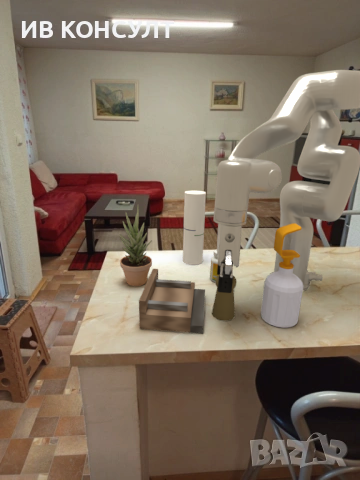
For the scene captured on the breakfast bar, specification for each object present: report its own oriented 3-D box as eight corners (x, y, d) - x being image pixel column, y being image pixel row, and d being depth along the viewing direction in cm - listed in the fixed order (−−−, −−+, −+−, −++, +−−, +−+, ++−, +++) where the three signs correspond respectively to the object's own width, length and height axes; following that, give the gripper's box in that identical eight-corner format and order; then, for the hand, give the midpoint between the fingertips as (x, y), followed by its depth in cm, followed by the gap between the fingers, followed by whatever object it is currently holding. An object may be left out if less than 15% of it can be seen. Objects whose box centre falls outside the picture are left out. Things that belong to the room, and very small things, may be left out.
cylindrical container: (184, 256, 118) (185, 190, 110) (203, 258, 117) (206, 190, 109) (181, 264, 112) (183, 193, 103) (201, 265, 111) (205, 194, 102)
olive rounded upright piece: (234, 308, 84) (237, 271, 81) (236, 321, 79) (239, 281, 75) (211, 307, 85) (214, 269, 81) (211, 319, 79) (214, 280, 75)
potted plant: (128, 292, 92) (125, 208, 84) (116, 279, 99) (112, 202, 91) (158, 284, 97) (158, 205, 89) (145, 272, 104) (143, 198, 96)
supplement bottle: (206, 277, 102) (208, 249, 99) (220, 274, 104) (222, 247, 101) (215, 284, 97) (217, 255, 94) (230, 281, 99) (232, 253, 96)
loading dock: (204, 295, 90) (206, 271, 88) (203, 333, 74) (204, 305, 71) (153, 292, 92) (152, 268, 89) (139, 328, 75) (138, 300, 72)
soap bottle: (304, 327, 77) (320, 231, 69) (267, 329, 76) (280, 231, 68) (288, 308, 85) (302, 220, 77) (255, 309, 84) (265, 220, 76)
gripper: (251, 226, 64) (242, 301, 70) (243, 208, 81) (236, 270, 86) (214, 224, 65) (208, 298, 70) (213, 206, 81) (208, 268, 87)
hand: (223, 283), depth 78 cm, fingers open, 9 cm apart
